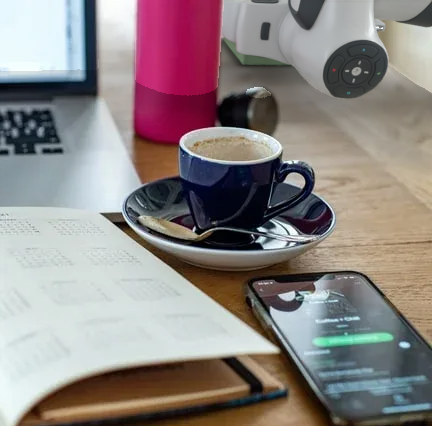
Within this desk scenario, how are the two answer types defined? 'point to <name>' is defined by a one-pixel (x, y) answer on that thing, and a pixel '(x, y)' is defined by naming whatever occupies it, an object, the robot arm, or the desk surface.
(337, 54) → the robot arm
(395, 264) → the desk surface
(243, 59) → the tray
